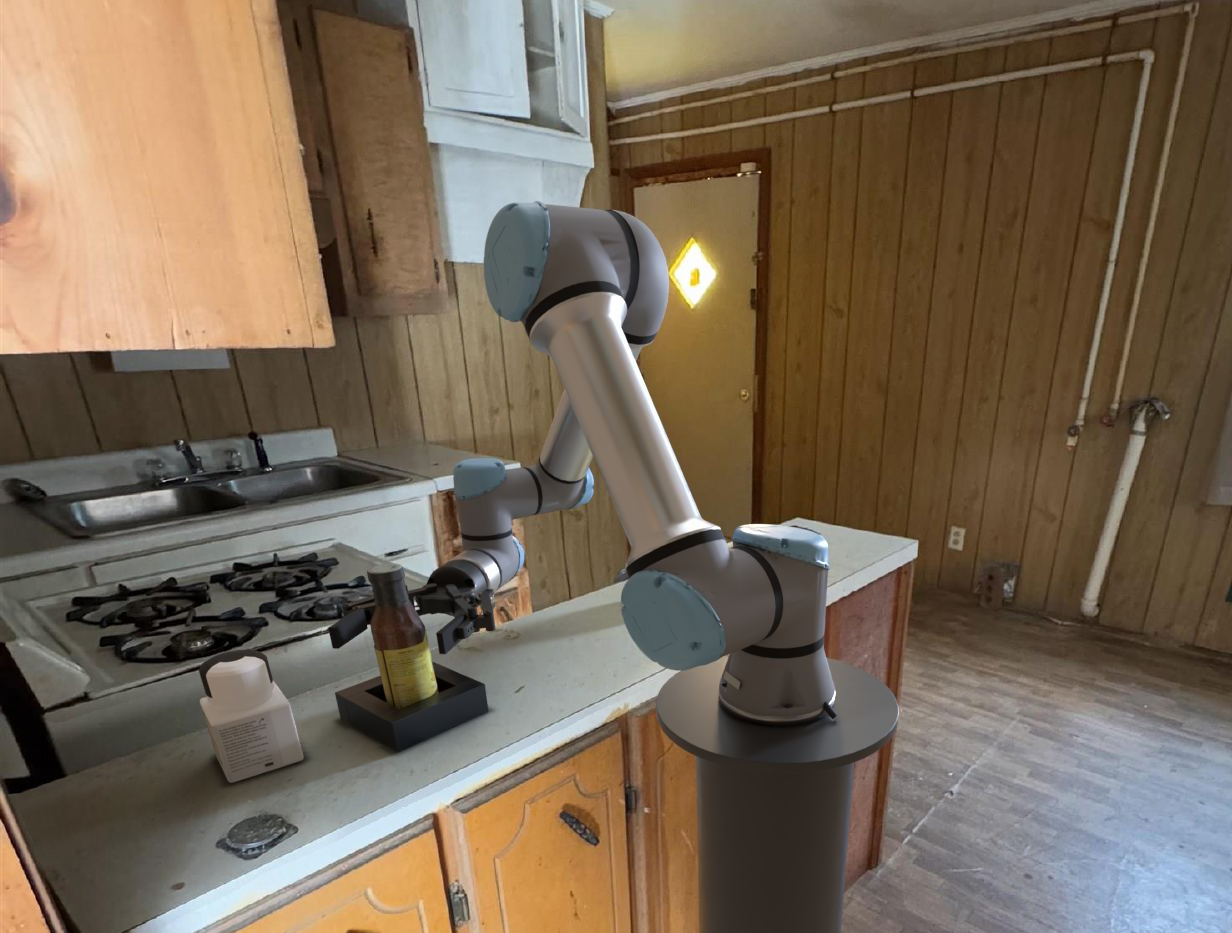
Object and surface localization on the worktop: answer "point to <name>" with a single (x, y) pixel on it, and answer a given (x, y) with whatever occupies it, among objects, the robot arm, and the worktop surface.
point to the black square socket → (412, 709)
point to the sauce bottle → (399, 639)
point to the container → (247, 715)
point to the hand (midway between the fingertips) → (386, 641)
